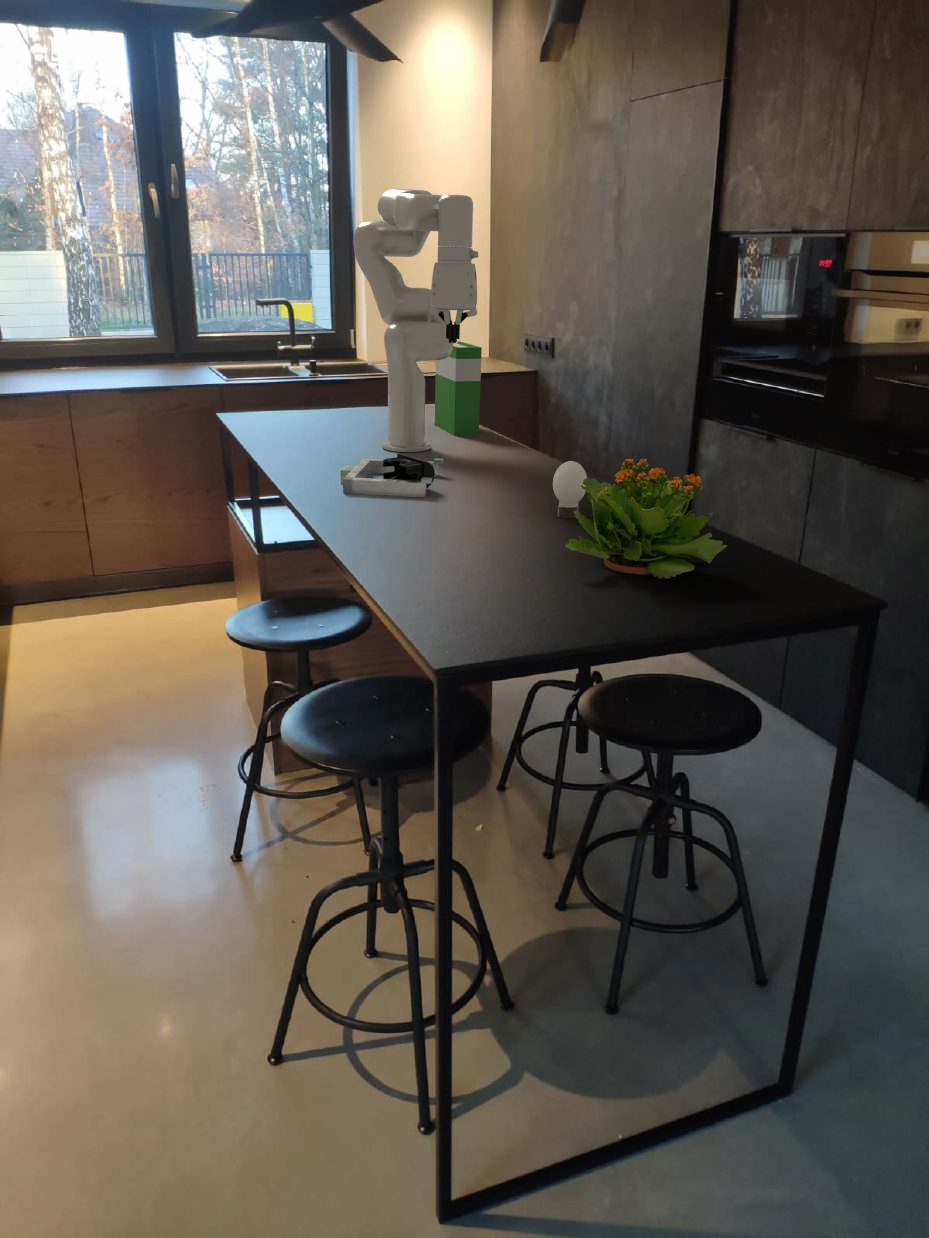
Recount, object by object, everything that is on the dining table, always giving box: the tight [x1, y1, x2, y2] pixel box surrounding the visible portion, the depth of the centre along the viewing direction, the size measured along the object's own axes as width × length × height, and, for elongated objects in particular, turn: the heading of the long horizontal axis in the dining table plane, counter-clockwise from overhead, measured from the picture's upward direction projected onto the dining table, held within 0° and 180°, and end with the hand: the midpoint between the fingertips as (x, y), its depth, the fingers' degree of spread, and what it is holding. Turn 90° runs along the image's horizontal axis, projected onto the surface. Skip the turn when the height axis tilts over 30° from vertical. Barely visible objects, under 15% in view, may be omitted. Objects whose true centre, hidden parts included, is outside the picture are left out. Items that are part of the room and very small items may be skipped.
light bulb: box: [552, 460, 588, 519], centre depth 186 cm, size 7×7×11 cm
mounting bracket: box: [340, 457, 444, 498], centre depth 209 cm, size 22×21×4 cm
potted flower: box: [565, 458, 728, 580], centre depth 156 cm, size 25×24×18 cm
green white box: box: [434, 340, 483, 437], centre depth 270 cm, size 18×7×24 cm, turn 20°
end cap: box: [382, 453, 436, 490], centre depth 205 cm, size 10×7×7 cm
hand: (452, 342), depth 215 cm, fingers closed
